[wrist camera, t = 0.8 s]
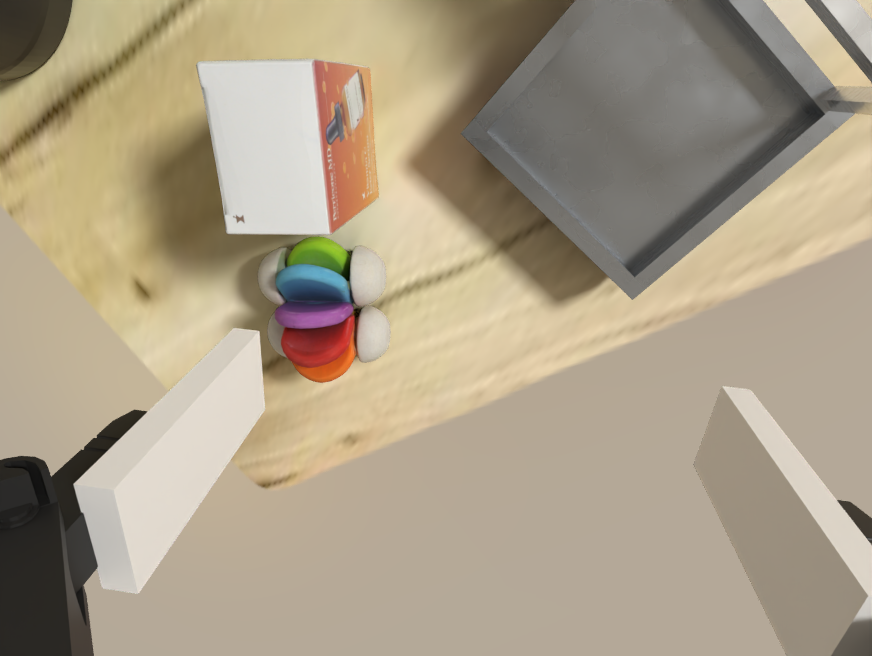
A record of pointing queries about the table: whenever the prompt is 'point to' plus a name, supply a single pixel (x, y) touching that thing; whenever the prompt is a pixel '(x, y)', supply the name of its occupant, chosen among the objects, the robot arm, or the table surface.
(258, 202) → the small box
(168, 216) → the table surface
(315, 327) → the rainbow segmented toy
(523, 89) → the grey storage bin
